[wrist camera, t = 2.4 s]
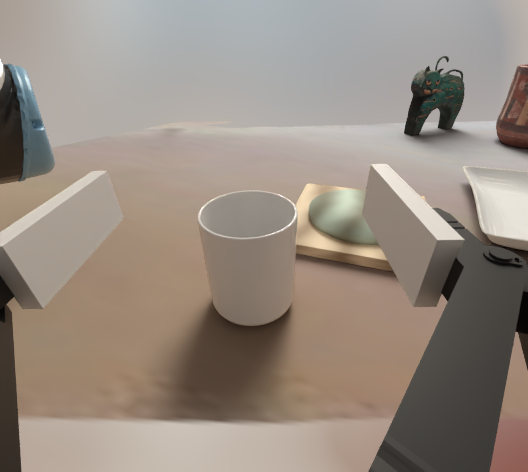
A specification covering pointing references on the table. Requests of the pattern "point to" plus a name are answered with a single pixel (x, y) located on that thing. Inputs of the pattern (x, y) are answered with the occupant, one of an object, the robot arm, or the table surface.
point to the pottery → (515, 112)
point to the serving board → (337, 227)
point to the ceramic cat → (434, 98)
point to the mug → (250, 255)
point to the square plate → (501, 204)
